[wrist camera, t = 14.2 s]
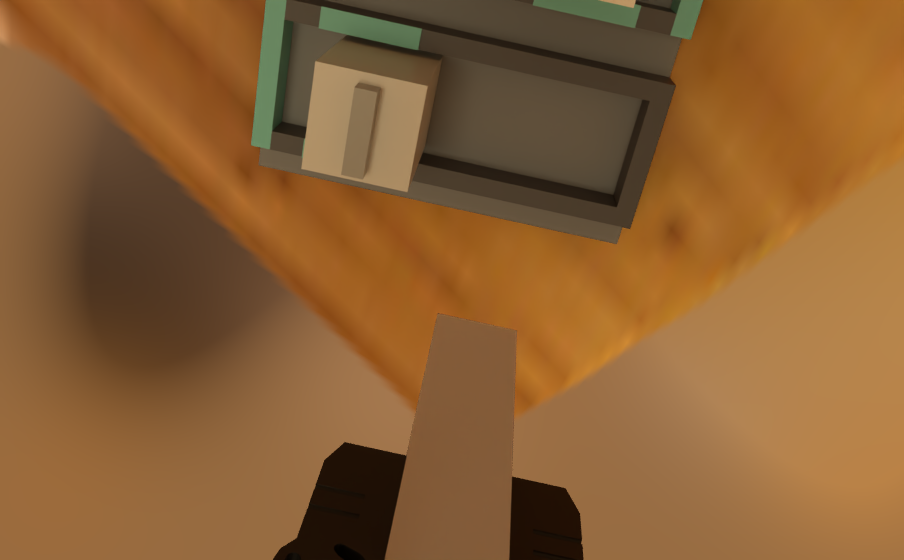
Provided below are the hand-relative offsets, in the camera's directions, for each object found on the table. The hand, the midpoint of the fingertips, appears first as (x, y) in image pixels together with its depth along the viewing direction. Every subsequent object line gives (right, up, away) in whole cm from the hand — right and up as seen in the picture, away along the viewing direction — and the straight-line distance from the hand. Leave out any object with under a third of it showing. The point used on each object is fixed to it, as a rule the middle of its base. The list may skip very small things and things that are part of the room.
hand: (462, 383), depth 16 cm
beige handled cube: (-3, +10, +20) cm, 22 cm away
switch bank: (+1, +13, +19) cm, 23 cm away
